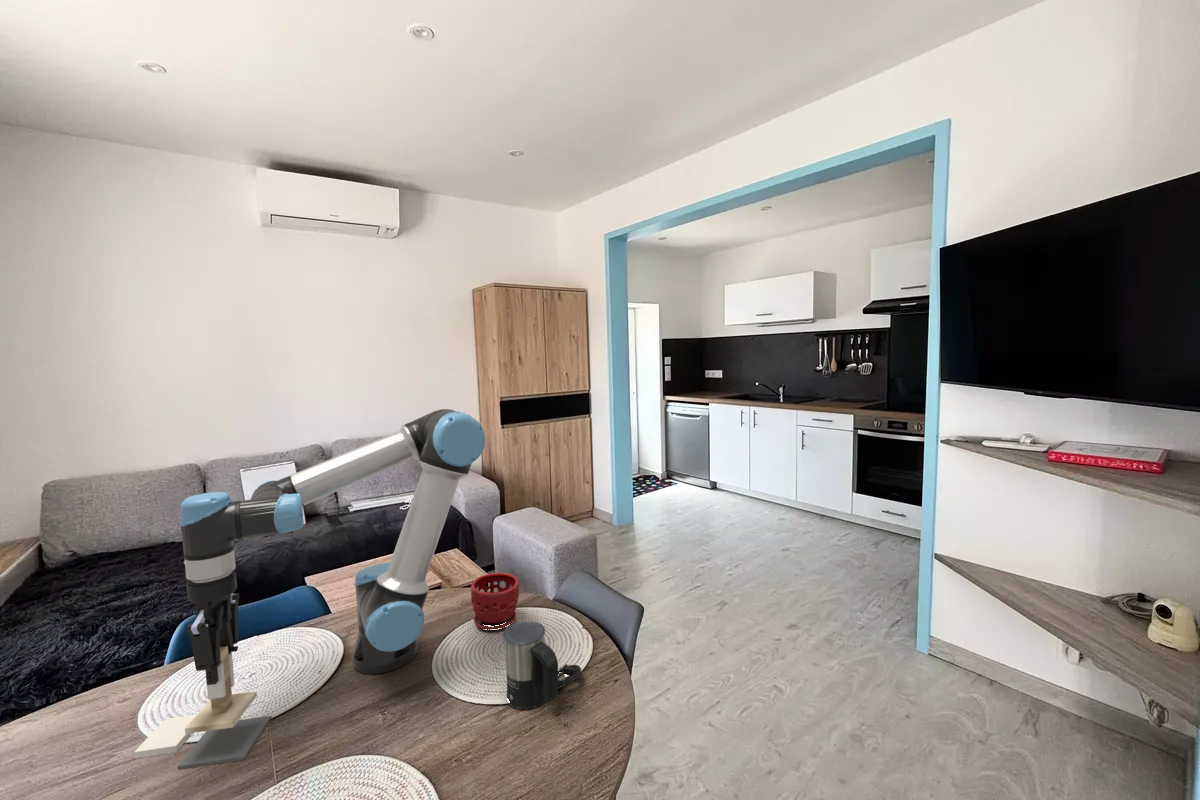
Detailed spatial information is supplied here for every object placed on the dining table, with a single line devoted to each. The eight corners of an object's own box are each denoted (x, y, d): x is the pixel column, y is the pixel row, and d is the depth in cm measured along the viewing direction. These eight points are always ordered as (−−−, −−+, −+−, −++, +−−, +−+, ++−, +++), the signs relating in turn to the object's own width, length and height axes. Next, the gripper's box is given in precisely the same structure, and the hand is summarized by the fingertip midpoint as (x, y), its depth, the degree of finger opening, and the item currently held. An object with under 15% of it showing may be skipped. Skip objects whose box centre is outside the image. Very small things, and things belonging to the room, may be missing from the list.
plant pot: (471, 638, 133) (469, 595, 132) (473, 614, 146) (471, 574, 145) (521, 632, 136) (519, 589, 135) (519, 608, 149) (517, 569, 148)
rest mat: (271, 718, 105) (271, 715, 105) (244, 759, 95) (243, 756, 94) (212, 726, 103) (212, 723, 103) (178, 769, 93) (177, 766, 93)
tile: (203, 713, 105) (176, 745, 97) (204, 721, 106) (177, 754, 97) (164, 719, 104) (133, 752, 95) (165, 727, 104) (135, 760, 96)
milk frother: (496, 703, 108) (493, 637, 107) (535, 662, 122) (533, 603, 121) (554, 722, 102) (552, 652, 101) (588, 676, 116) (586, 615, 115)
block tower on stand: (256, 695, 103) (251, 635, 102) (233, 727, 95) (227, 661, 94) (213, 701, 102) (208, 640, 101) (185, 733, 93) (178, 666, 92)
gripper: (213, 560, 103) (222, 670, 105) (161, 595, 88) (173, 722, 90) (253, 557, 104) (262, 665, 106) (209, 591, 89) (220, 716, 91)
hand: (221, 691), depth 98 cm, fingers closed on block tower on stand, 2 cm apart
